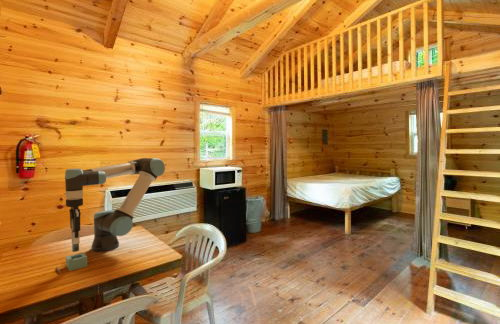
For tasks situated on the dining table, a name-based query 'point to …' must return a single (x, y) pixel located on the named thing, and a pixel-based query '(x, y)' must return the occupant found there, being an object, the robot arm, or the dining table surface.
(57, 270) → the lace
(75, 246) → the grey long bar
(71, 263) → the green hollow block
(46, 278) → the dining table surface
